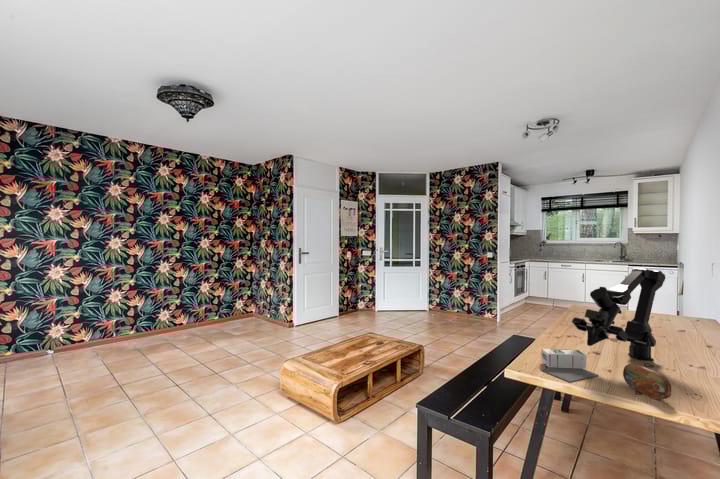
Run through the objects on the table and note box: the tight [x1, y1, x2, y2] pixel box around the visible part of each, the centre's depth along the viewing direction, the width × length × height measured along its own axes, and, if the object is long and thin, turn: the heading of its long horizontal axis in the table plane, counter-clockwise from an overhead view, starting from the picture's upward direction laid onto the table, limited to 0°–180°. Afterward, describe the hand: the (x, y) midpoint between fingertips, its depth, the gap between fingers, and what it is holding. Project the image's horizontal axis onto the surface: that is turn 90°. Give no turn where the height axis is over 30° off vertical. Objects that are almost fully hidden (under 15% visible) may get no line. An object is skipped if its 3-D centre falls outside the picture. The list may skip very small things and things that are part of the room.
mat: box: [539, 367, 600, 383], centre depth 126 cm, size 16×12×1 cm
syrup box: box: [541, 348, 587, 370], centre depth 132 cm, size 6×6×14 cm
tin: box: [622, 363, 672, 401], centre depth 110 cm, size 15×3×8 cm, turn 5°
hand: (588, 345), depth 130 cm, fingers closed
